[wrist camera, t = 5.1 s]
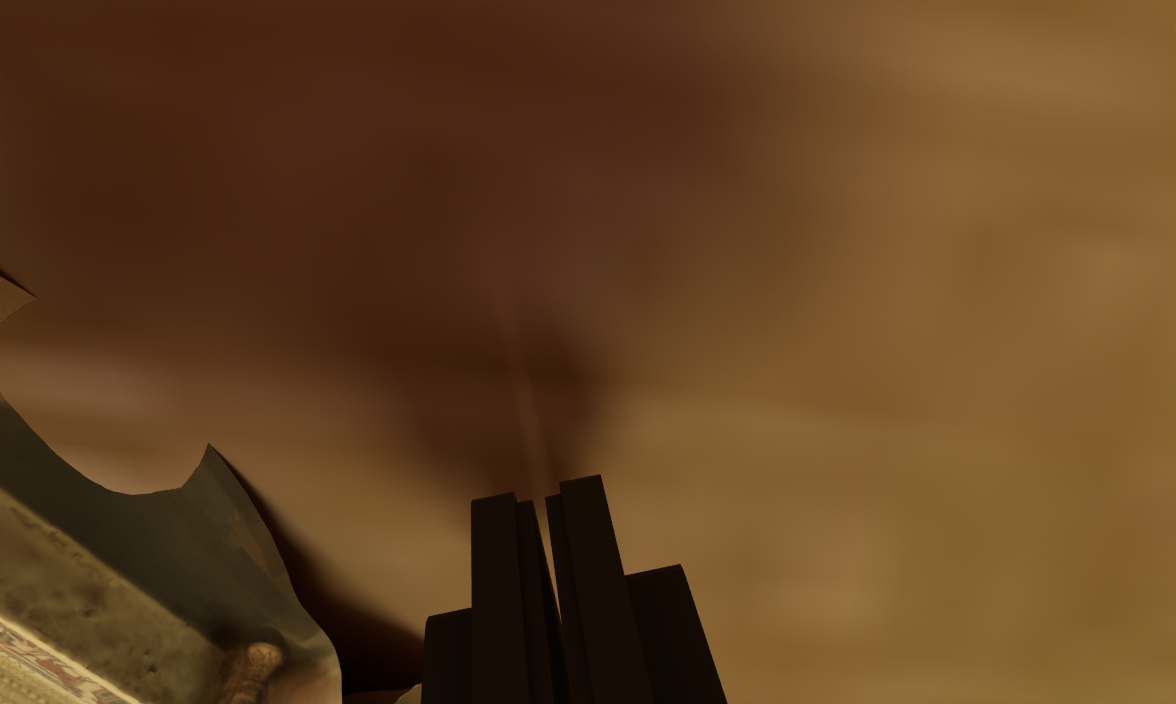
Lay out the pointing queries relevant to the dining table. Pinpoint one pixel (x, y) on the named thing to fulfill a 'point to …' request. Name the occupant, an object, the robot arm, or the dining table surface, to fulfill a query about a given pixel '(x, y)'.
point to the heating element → (147, 589)
